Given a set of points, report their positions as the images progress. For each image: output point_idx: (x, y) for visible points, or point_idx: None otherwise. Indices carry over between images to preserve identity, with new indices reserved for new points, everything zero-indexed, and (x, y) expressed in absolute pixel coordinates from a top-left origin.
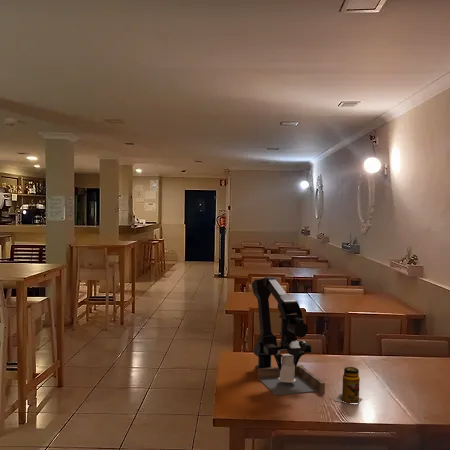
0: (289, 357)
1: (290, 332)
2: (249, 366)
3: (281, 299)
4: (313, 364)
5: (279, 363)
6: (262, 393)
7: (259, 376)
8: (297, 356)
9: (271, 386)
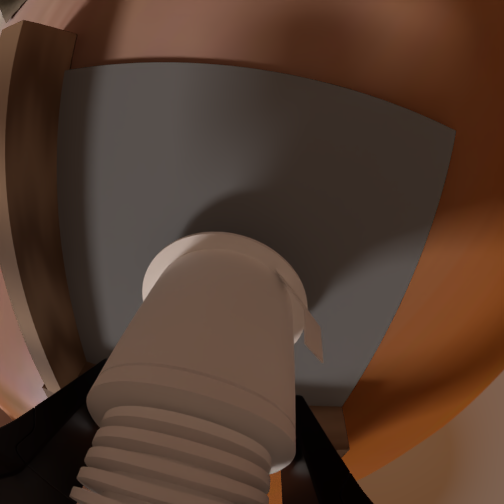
0: None
1: None
2: (270, 476)
3: None
4: (24, 394)
5: (338, 468)
6: (486, 212)
7: (340, 414)
8: (4, 474)
9: (379, 284)
